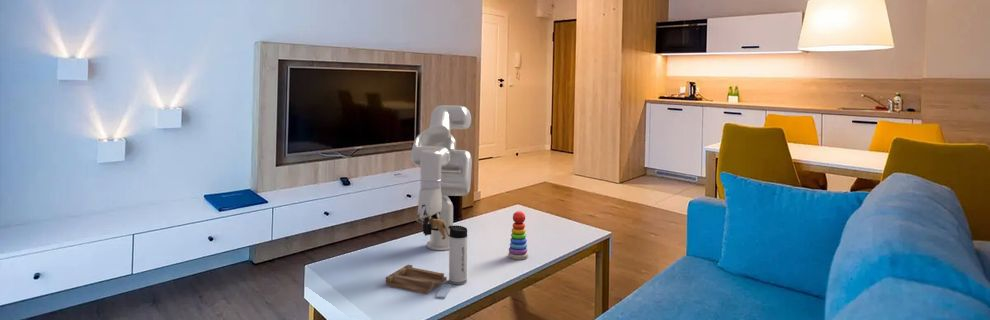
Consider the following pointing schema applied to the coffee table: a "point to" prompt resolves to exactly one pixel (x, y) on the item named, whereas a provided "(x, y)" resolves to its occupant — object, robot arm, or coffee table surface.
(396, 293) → the coffee table surface
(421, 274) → the cradle jig
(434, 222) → the lion figurine
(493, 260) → the coffee table surface
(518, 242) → the stacking toy
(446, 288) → the plank
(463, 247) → the travel mug
